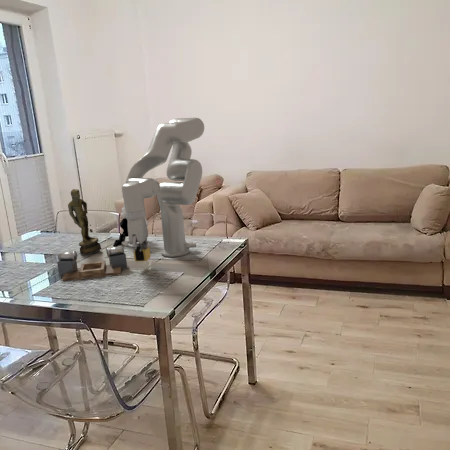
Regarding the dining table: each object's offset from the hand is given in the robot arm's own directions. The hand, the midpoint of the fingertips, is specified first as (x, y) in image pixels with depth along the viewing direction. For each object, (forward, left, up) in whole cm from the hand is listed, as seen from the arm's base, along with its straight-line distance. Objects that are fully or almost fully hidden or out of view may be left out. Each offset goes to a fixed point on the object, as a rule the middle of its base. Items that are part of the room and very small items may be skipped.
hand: (142, 257), depth 189 cm
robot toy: (+5, -42, -5) cm, 42 cm away
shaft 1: (+30, -4, -5) cm, 30 cm away
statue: (+24, -32, -5) cm, 40 cm away
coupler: (0, 0, -1) cm, 1 cm away
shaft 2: (+11, -4, -5) cm, 12 cm away
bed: (+20, -2, -5) cm, 21 cm away
